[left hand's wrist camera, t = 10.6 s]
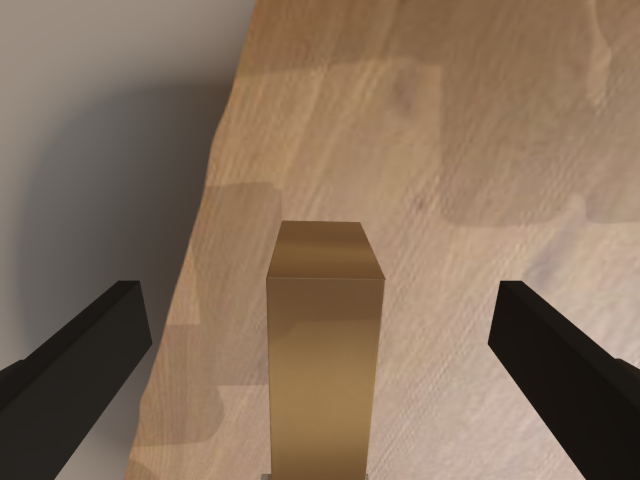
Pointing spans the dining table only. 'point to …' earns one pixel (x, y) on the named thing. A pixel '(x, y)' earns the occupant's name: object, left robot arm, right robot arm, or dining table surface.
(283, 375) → the bar
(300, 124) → the dining table surface
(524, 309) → the left robot arm
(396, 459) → the dining table surface
